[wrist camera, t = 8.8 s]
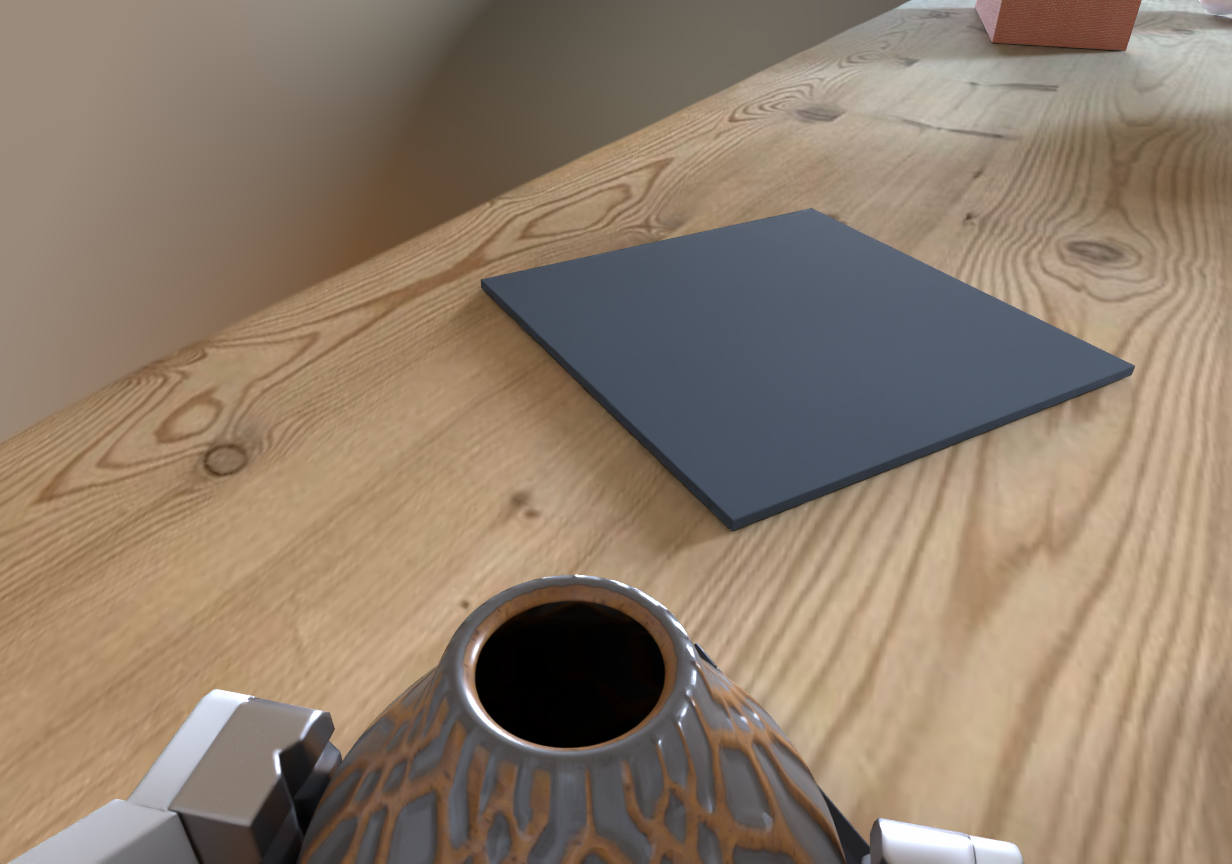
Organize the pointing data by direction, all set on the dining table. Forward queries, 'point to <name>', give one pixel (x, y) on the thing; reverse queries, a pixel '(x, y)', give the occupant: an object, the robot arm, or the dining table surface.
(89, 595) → the dining table surface
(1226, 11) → the white knot sculpture
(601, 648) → the vase
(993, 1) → the house
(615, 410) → the mat
